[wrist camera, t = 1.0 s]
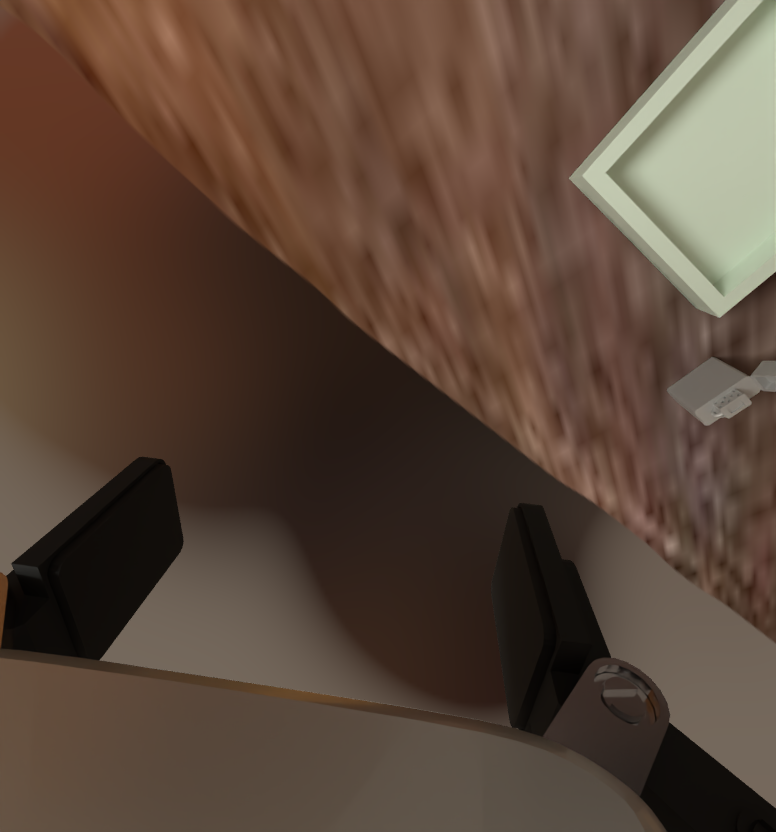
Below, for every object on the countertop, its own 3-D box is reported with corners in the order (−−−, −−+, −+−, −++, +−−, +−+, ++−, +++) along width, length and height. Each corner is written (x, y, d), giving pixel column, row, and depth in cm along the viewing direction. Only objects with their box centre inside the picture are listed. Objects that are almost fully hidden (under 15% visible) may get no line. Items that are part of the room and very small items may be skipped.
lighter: (677, 403, 36) (737, 452, 29) (665, 389, 36) (722, 436, 28) (763, 344, 33) (852, 382, 26) (751, 329, 33) (838, 363, 26)
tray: (765, -46, 24) (806, -77, 21) (898, 136, 27) (949, 128, 24) (568, 178, 30) (581, 175, 27) (696, 308, 33) (719, 317, 30)
